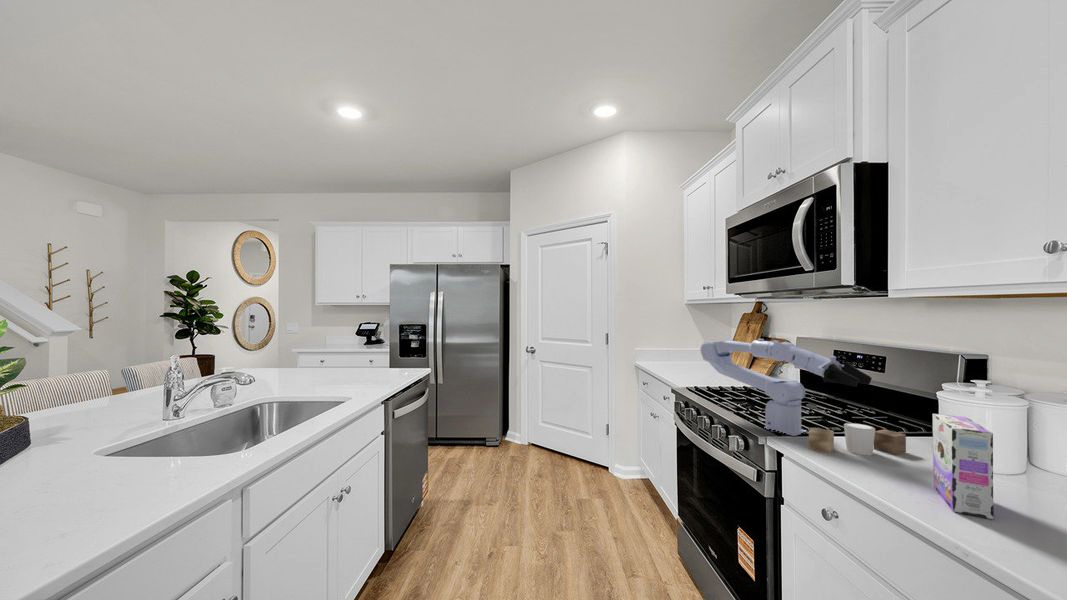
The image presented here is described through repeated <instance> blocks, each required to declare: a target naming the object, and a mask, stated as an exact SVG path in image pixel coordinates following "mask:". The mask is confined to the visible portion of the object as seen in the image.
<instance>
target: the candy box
mask: <svg viewBox="0 0 1067 600" xmlns="http://www.w3.org/2000/svg"><path fill="white" fill-rule="evenodd" d="M931 420H932V421H931V422H932V451H933V452H932V454H933V455H932V456H933V462H932V463H933V487H934V490H936V491H937V493H938V494H939V495H940V496H941V498H942V499H943V500H944V501H945V503H946V504H947V506H948V507H949V508H950V509H951V510H952V511H953V512H954V513H955V512H956V513H960V514H964V515H969V516H975V517H978V518H979V517H980V518H983V519H989V520H995V519H994V518H995V517H994V515H995V514H994V509H995V508H994V433H993V432H991V431H989V430H988V429H986V428H984V427H983V426H981V424H978V423H976V422H975V421H973V420H972V419H970V418H969V417H966V416H958V415H957V416H956V415H950V414H949V415H948V414H938V413H932V419H931Z"/></svg>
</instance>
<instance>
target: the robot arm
mask: <svg viewBox="0 0 1067 600" xmlns="http://www.w3.org/2000/svg"><path fill="white" fill-rule="evenodd" d="M699 351H700V354H701V357H702V359H703V360H704V361H706V362H707V363H709V364H710V365H711V367H713V368H714V370H715V371H716V372H717V373H719V374H720V375H723V376H725V377H727V378H731V379H733V380H735V381H737V382H741V383H743V384H746V385H749V386H751V387H752V388H755V389H758V390H760V391H763V392H764V394H765V395H766V396H768V397H770V398H771V399H770V400H769V401H767V403H766V405H765V416H764V417H765V426H764V427H763V428H764V429H765V428H766V429H765V430H769V429H771V430H770V431H773V430H776V431H775V432H777V431H780V432H779V433H781V432H783V433H782V434H784V433H786V434H785V435H788V436H792V437H796V436H799V435H802V434H801V433H803V432H806V431H807V429H806V430H805V429H803V428H802V399H804V398H805V396H806V389H805V387H804V385H803V384H802V383H801V382H799V381H797V380H786V379H781V378H774V377H772V376H769V375H766V374H764V373H760V372H757V371H754V370H752V369H750V368H747V367H744V366H741V365H739V364H735V363H733V359H732V353H733V352H742V353H750V354H751V355H752V357H754V358H762V359H770V360H775V361H776V362H786V363H788V364H791V365H793V366H794V367H798V368H800V369H803V370H805V371H807V372H809V373H813V374H814V375H817V376H820V377H822V381H823V383H836V384H841V385H846V386H849V387H855V388H857V386H858V384H859V383H860V384H863V385H870V384H871V381H872V377H871V376H870V375H868V374H866V373H864V372H863V371H861V370H860V369H858V368H857V367H856V366H855V365H854V364H853V363H852V362H850V361H845V362H844V364H841V363H840V362H838V361H837V356H835V355H831V356H830V358H828V357H825V356H823V355H821V354H818V353H815V352H812V351H810V350H807V349H804V348H800V347H797V346H796V345H795V344H794V343H792V342H789V341H784V342H779V340H776V339H775V340H772V341H771V340H770V341H769V340H765V339H764V338H758V339H755V340H753V341H752V342H744V341H736V340H720V341H719V340H718V341H705V342H703V343H702V344H701V346H700V350H699ZM806 433H807V432H806ZM803 434H804V433H803Z"/></svg>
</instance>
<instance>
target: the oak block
mask: <svg viewBox="0 0 1067 600" xmlns="http://www.w3.org/2000/svg"><path fill="white" fill-rule="evenodd" d="M834 436H835V432H834V430H830V429H824V428H820V427H819V428H818V427H811V429H809V431H808V450H813V451H817V452H818V451H819V452H822V453H827V452H828V454H831V453H832V452H833V451H832V450H834V449H835V437H834Z"/></svg>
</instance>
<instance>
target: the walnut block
mask: <svg viewBox="0 0 1067 600" xmlns="http://www.w3.org/2000/svg"><path fill="white" fill-rule="evenodd" d="M873 450H877V451H879V452H884V453H886V454H889V455H893V456H897V455H901V454H902V455H903V454H906V453H907V435H906V434H904V433H900V432H896V431H892V430H889V429H881V430H880V429H879V430H875V436H874V445H873Z"/></svg>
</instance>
